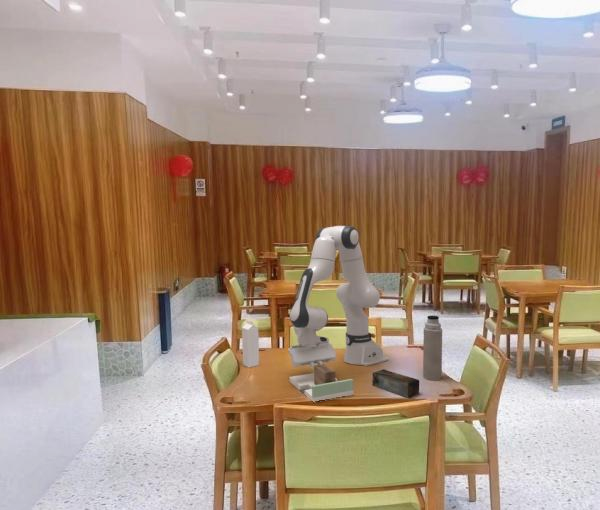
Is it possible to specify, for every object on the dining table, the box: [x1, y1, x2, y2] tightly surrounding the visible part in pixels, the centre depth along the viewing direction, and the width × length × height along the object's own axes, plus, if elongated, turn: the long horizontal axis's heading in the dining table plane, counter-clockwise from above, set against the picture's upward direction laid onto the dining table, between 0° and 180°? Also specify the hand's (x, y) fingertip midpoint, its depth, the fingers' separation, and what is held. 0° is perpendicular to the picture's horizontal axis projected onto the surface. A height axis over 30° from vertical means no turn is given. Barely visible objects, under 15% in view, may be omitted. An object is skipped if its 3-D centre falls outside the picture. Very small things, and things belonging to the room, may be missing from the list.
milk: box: [241, 320, 260, 368], centre depth 219 cm, size 6×6×22 cm
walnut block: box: [313, 363, 337, 385], centre depth 184 cm, size 5×10×8 cm, turn 23°
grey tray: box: [289, 372, 354, 403], centre depth 188 cm, size 18×25×6 cm
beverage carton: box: [371, 368, 420, 399], centre depth 186 cm, size 8×19×7 cm, turn 41°
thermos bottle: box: [422, 315, 443, 382], centre depth 198 cm, size 8×8×28 cm
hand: (318, 372), depth 189 cm, fingers closed, pressing on walnut block
